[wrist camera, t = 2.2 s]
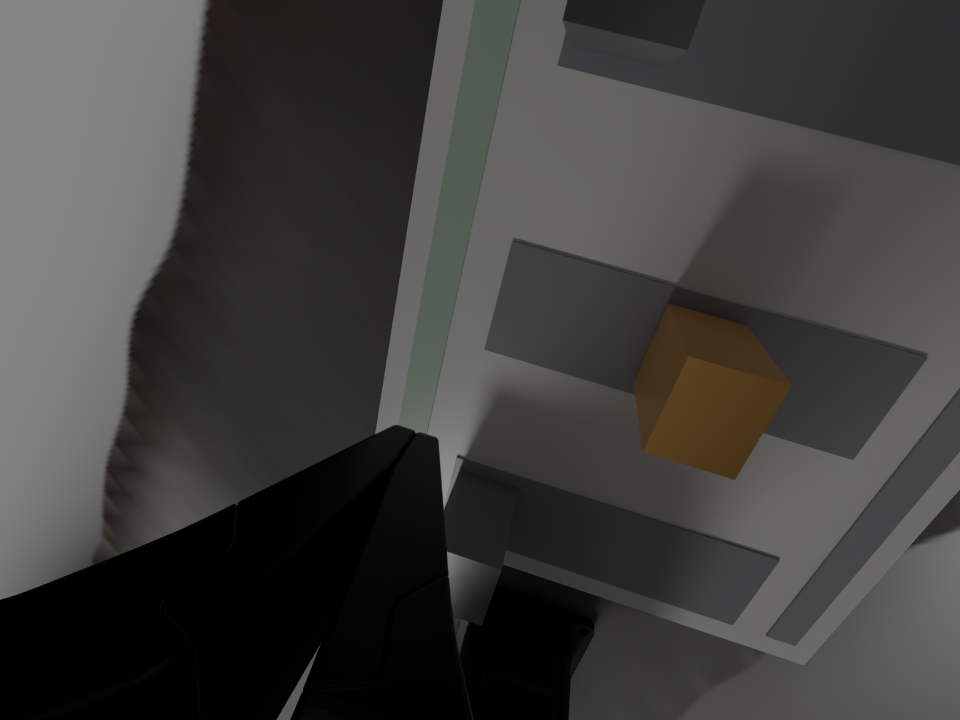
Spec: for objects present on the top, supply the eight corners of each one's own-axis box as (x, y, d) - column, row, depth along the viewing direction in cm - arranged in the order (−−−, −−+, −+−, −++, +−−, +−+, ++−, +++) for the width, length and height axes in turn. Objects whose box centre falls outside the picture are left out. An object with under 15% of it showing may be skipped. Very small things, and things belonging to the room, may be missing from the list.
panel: (788, 623, 23) (848, 782, 18) (378, 488, 25) (316, 596, 19) (1288, 3, 12) (1878, -95, 7) (491, -166, 14) (420, -359, 8)
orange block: (706, 405, 17) (734, 479, 13) (633, 383, 17) (643, 451, 14) (747, 325, 16) (791, 385, 12) (667, 302, 16) (688, 356, 12)
